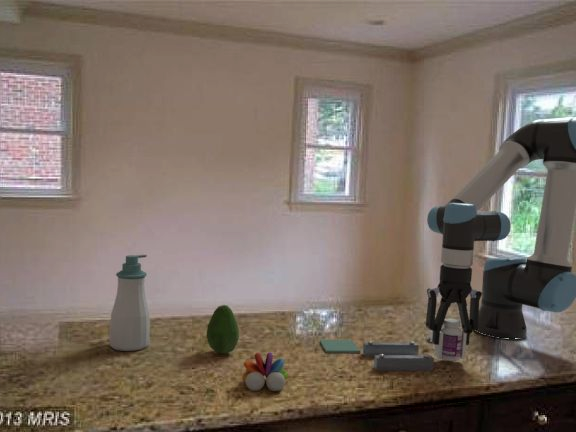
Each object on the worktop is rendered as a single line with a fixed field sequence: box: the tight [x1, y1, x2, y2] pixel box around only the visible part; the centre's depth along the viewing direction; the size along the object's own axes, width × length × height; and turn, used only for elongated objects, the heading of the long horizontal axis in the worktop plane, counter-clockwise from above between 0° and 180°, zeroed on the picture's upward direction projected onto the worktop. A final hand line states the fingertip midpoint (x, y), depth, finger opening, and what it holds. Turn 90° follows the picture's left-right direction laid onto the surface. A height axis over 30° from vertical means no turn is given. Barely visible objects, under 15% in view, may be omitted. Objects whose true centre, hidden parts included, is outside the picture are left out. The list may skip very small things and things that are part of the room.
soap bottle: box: [108, 254, 151, 352], centre depth 139 cm, size 10×10×23 cm
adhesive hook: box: [426, 330, 433, 343], centre depth 157 cm, size 3×3×3 cm
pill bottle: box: [441, 318, 463, 362], centre depth 139 cm, size 5×5×10 cm
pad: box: [319, 339, 362, 354], centre depth 147 cm, size 9×9×1 cm
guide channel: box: [362, 340, 435, 372], centre depth 138 cm, size 14×12×4 cm
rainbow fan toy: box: [241, 351, 289, 392], centre depth 118 cm, size 8×10×7 cm
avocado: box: [206, 304, 240, 355], centre depth 137 cm, size 8×8×12 cm
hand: (449, 356), depth 139 cm, fingers closed on pill bottle, 5 cm apart
